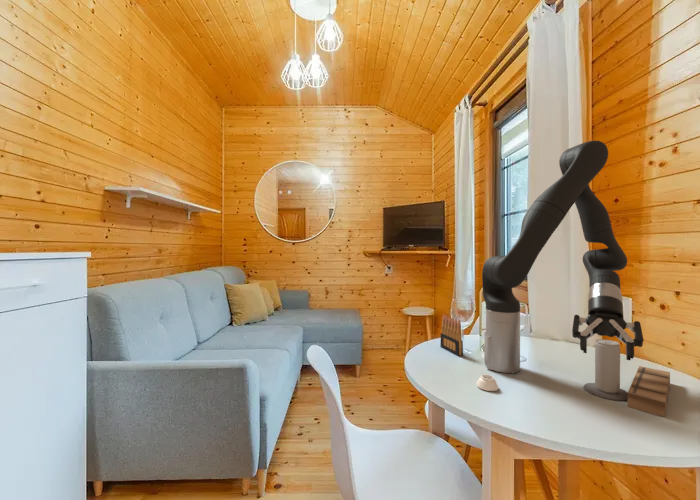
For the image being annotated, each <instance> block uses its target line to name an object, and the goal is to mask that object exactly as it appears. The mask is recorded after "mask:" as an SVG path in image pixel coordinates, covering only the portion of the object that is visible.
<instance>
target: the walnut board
mask: <svg viewBox="0 0 700 500" xmlns="http://www.w3.org/2000/svg"><path fill="white" fill-rule="evenodd" d="M670 385H671V371H665V370H661V369H655V368H651V367H647V366H641V365H639V366H638V368H637V371H636V372H635V375H634V377H633V379H632V382H631V385H629V389H628V391H627V392H628V400H627V402H626V403H627V407H628V408H632V409H636V410H639V411H643V412H645V413H650V414H654V415H657V416H662V417H666V412H667V407H668V406H667V405H668V399H669V393H670V387H671V386H670Z"/></svg>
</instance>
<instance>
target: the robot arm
mask: <svg viewBox="0 0 700 500" xmlns="http://www.w3.org/2000/svg"><path fill="white" fill-rule="evenodd" d="M608 159H609V149H608V147H607V144H605V143H604V142H603V141H600V140H589V141H586V142H583V143H580V144H577V145H575V146H572V147H570V148H568V149H566V150H564V151H563V152H562V153H561V155H560V157H559V160H558V162H559V168H560V171H561V174H562V176H561V177H560V178H559V179H557V180H556V181H555V182H554V183H552V185H550V186H549V187H547V189H546V190H544V191H543V192H542V193H541V194H540V195H538V196H537V197H536V199H535V200H534V201H533V202H532V204H531V205H530V207H529V208H528V210H527V211H526V213H525V214H524V217H523V218H522V221H521V226H520V227H521V228H520V233H519V237H518V239H517V240H516V242H515V243H514V245H513V246H512V247H511V249H510V250H509V251H508V252H507V253H506V254H505V255H493V256H490V257H489V258H487V259H486V260H485V262H484V264H483V265H482V266H483V267H482V273H481V277H482V279H481V280H482V281H481V282H482V298H483V300H484V303H485V332H484V346H483V347H484V348H483V349H484V353H483V354H484V355H483V356H484V357H483V358H484V360H483V361H484V365H485V367H486V369H487V370H492V371H495V372H497V373H498V372H499V373H504V374H516V373H519V372H520V371H521V302H520V301H519V300H518V298H516V296H515V295H514V293H513V289H515V288H517V287H519V286H520V285H521V284H522V283H523V282H524V281H525V280H526V278H527V276H528V274H529V273H530V271H531V269H532V267H533V265H534V263H535V261H536V260H537V258H538V257H539V254H540V253H541V251H542V250H543V248H544V247H545V246H546V245H547V243H548V242H549V239H550V238H551V237H552V235H553V234H554V233H555V231H556V230H557V229H558V227H559V225H560V224H562V222H563V220H564V219H565V217H566V216H567V214H568V212H569V211H570V209H571V208H572V207H573V205H574V204H575V206H576V210H577V212H578V216H579V220H580V225H581V229H582V232H583V233H582V234H583V236H584V240H585V241H586V242H587V243H590V244H591V243H592V244H593V243H595V244H597V243H598V244H602V245H605V246H606V247H605V248H599V249H590V250H587V251H586V252H585V253H584V254H582V255H583V256H582V263H583V266H584V269H586V272H587V275H588V278H589V287H588V288H589V289H588V295H587V296H588V297H587V298H588V299H587V316H586V317H581V316H580V315H579V314H574V315H573V323H572V330H571V332H572V333H571V334H572V337H573V338H575V339H576V338H577V339H579V341H580V342H579V349H580V351H582V353H583V354H587V353H588V351H587V349H588V347H587V346H588V339H590V338H592V337H593V336H594V335H596V334H597V335H598V336H602V337H603V336H606V337H609V338H614V337H616V338H617V339H618V340H619V341H620V342H622V343H623V344H625V356H626V358H625V359H626V361H631V359H634V358H635V347H639V348H642V347H643V346H644V345H643V343H644V336H643V330H642V325H641V322H640V321H639V320H635V321H633V322H628V321H626V320H625V319H624V318H625V317H624V306H623V305H624V302H623V301H624V300H623V294H622V290H621V278H620V275H619V274H618V272H616V271H622V270H624V269H625V268H626V267H627V265H628V257H627V255H626V253H625V252H624V250H623V249H622V247H621V246H620V244H619V242H618V241H617V239H616V237H615V234H614V231H613V228H612V222H611V217H610V215H609V212H608V210H607V208H606V207H605V205H604V204H603V203H602V202H601V200H600V199H599V198H598V197H597V196H596V195H595V193H594V192H593V191H592V188H591V187H590V183H591V182H592V180H594V178H596V176H597V175H598V174H599V173H600V172H601V170H602V169H604V167H605V165H606V163H608V162H607V161H608ZM584 323H585V324H586V325H587V326H586V328H585V329H584V330H582V331H579V330H580V326H583V324H584ZM626 328H628V329H629V331H630V332H631V333H633V335H634V338H632V337H631V336H630V335H629V334H628V332H627V331H626V330H625V329H626Z"/></svg>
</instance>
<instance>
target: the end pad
mask: <svg viewBox="0 0 700 500" xmlns="http://www.w3.org/2000/svg"><path fill="white" fill-rule="evenodd" d="M583 389H584V390H585V391H586V392H587V393H589V394H591V395H593V396H596V397H599V398H602V399H606V400H610V401H616V402H625V401H628V391H627V390H625V389H624V388H623V389H622V388H620V391H619V392H618V393H617V394H609V393H605V392H602V391H600V390H598V389H597V388H596V387H595V382H587V383H585V384H584V385H583Z"/></svg>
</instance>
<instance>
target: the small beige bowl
mask: <svg viewBox="0 0 700 500" xmlns="http://www.w3.org/2000/svg"><path fill="white" fill-rule="evenodd" d="M476 387H478V388H479V389H481V390H483V391H485V392H486V391H487V392H495V391H498V390H499V385H498V383H497V381H496V380H495V377H494V376H493V375H490V374H485V373H484V374H481V375H480V377H479V378H478V380H477V382H476Z"/></svg>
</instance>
